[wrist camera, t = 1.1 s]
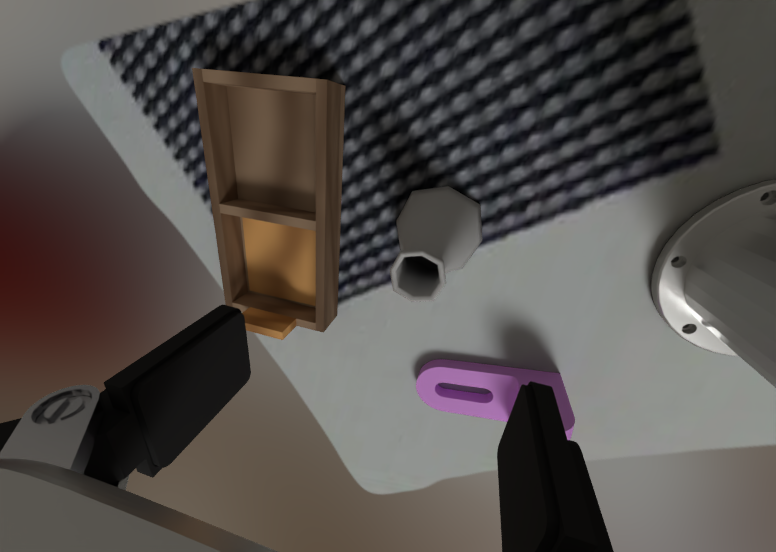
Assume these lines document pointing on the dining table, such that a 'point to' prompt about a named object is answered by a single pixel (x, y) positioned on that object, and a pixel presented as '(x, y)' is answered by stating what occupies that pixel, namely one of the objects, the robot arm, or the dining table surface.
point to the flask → (434, 241)
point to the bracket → (490, 377)
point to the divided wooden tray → (275, 194)
